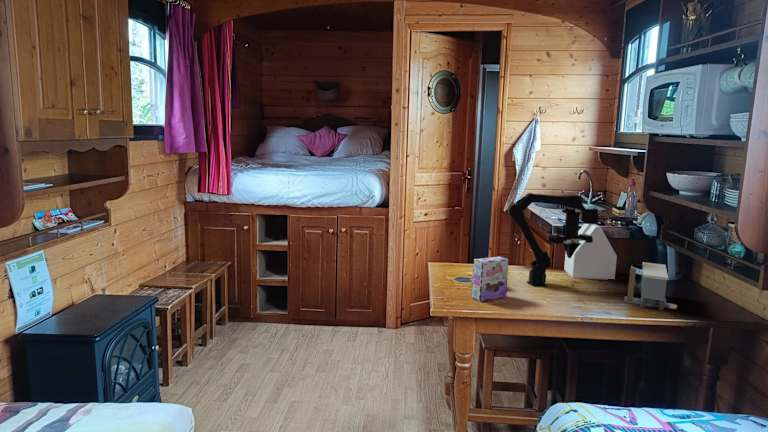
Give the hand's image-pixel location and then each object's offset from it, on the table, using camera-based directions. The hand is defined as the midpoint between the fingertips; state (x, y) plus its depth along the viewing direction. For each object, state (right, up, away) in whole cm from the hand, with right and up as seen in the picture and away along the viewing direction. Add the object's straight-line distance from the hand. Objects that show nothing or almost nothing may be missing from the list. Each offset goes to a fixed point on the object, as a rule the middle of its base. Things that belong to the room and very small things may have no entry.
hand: (569, 257), depth 230 cm
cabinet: (+28, -17, -16) cm, 36 cm away
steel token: (+33, -18, -22) cm, 43 cm away
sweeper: (+24, -17, -18) cm, 35 cm away
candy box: (-39, -15, -17) cm, 45 cm away
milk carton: (+18, -10, +23) cm, 31 cm away
